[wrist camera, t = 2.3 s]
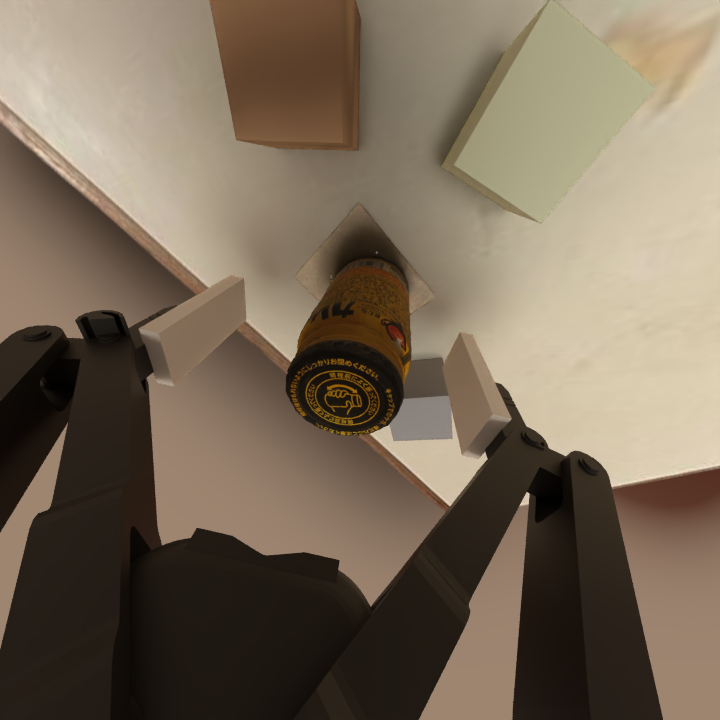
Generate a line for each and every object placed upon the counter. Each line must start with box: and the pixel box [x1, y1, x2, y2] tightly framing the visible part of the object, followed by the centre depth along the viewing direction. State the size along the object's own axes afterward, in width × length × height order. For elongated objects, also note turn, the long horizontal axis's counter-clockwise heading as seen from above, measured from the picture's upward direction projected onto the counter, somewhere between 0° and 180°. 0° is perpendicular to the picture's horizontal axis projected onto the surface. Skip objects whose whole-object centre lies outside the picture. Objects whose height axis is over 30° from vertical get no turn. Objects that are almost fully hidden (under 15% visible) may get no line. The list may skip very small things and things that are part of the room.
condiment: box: [286, 203, 435, 436], centre depth 16 cm, size 7×8×12 cm
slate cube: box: [390, 358, 452, 441], centre depth 23 cm, size 5×5×5 cm
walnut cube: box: [210, 0, 361, 150], centre depth 12 cm, size 5×5×5 cm
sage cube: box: [441, 0, 656, 223], centre depth 13 cm, size 5×5×5 cm
